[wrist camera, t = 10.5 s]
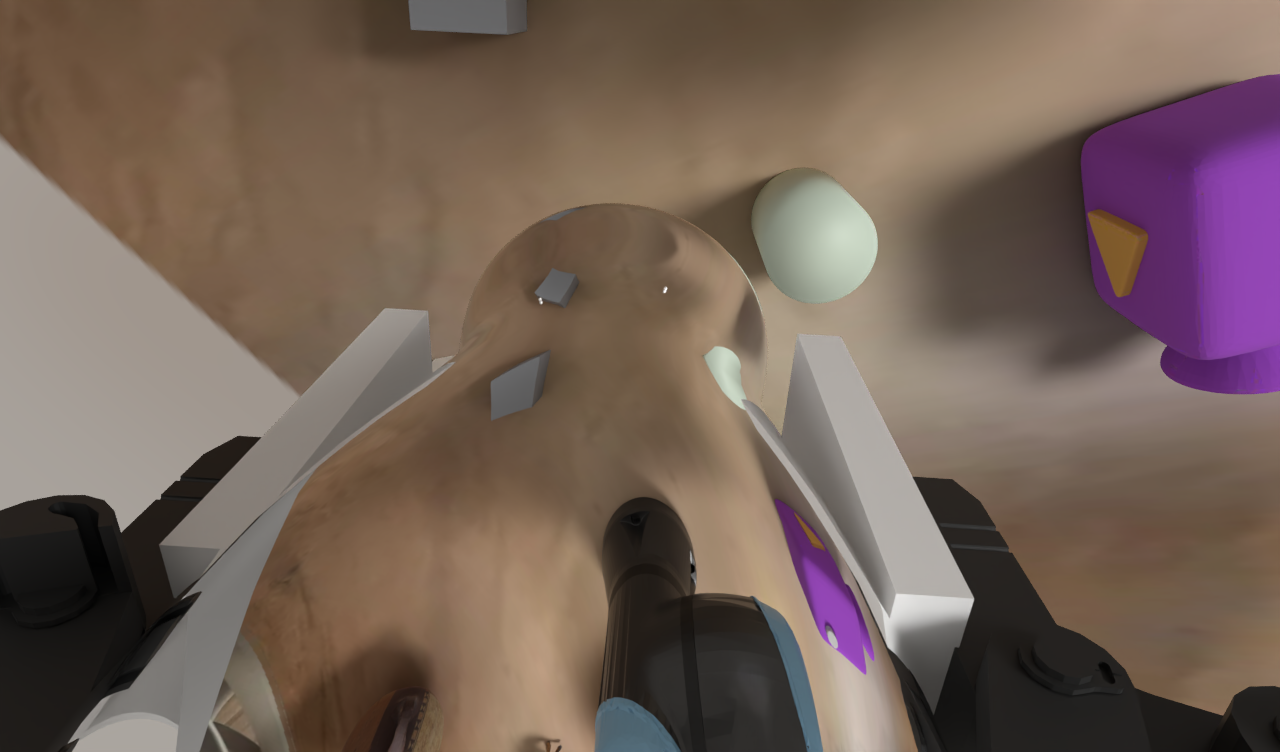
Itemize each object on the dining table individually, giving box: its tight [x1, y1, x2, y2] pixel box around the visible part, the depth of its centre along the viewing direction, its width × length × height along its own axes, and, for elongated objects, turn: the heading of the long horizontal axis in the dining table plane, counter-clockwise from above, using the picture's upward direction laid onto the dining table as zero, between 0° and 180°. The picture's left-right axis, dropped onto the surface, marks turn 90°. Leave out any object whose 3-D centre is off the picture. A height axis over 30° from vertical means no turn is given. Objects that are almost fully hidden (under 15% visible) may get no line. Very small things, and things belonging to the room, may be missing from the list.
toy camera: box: [1081, 74, 1280, 394], centre depth 34 cm, size 11×14×10 cm
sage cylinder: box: [751, 168, 878, 303], centre depth 37 cm, size 5×5×6 cm
